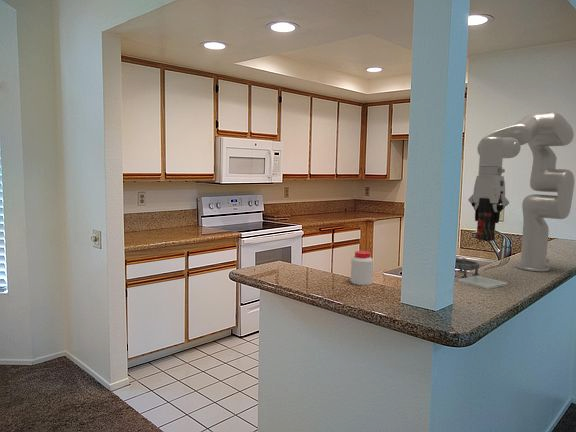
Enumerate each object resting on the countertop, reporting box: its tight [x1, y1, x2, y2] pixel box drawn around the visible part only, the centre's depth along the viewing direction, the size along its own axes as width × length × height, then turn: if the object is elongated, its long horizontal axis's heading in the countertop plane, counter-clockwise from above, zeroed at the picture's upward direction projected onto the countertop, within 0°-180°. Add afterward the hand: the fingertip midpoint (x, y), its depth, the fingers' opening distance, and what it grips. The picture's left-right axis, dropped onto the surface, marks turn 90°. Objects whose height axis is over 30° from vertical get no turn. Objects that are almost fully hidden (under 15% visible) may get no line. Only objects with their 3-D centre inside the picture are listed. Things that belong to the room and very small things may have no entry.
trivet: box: [457, 275, 508, 290], centre depth 161 cm, size 12×12×1 cm
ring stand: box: [454, 258, 480, 279], centre depth 174 cm, size 11×11×5 cm
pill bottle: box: [350, 250, 374, 286], centre depth 159 cm, size 8×8×11 cm
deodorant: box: [476, 198, 497, 242], centre depth 159 cm, size 6×6×15 cm
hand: (486, 221), depth 159 cm, fingers closed on deodorant, 6 cm apart
